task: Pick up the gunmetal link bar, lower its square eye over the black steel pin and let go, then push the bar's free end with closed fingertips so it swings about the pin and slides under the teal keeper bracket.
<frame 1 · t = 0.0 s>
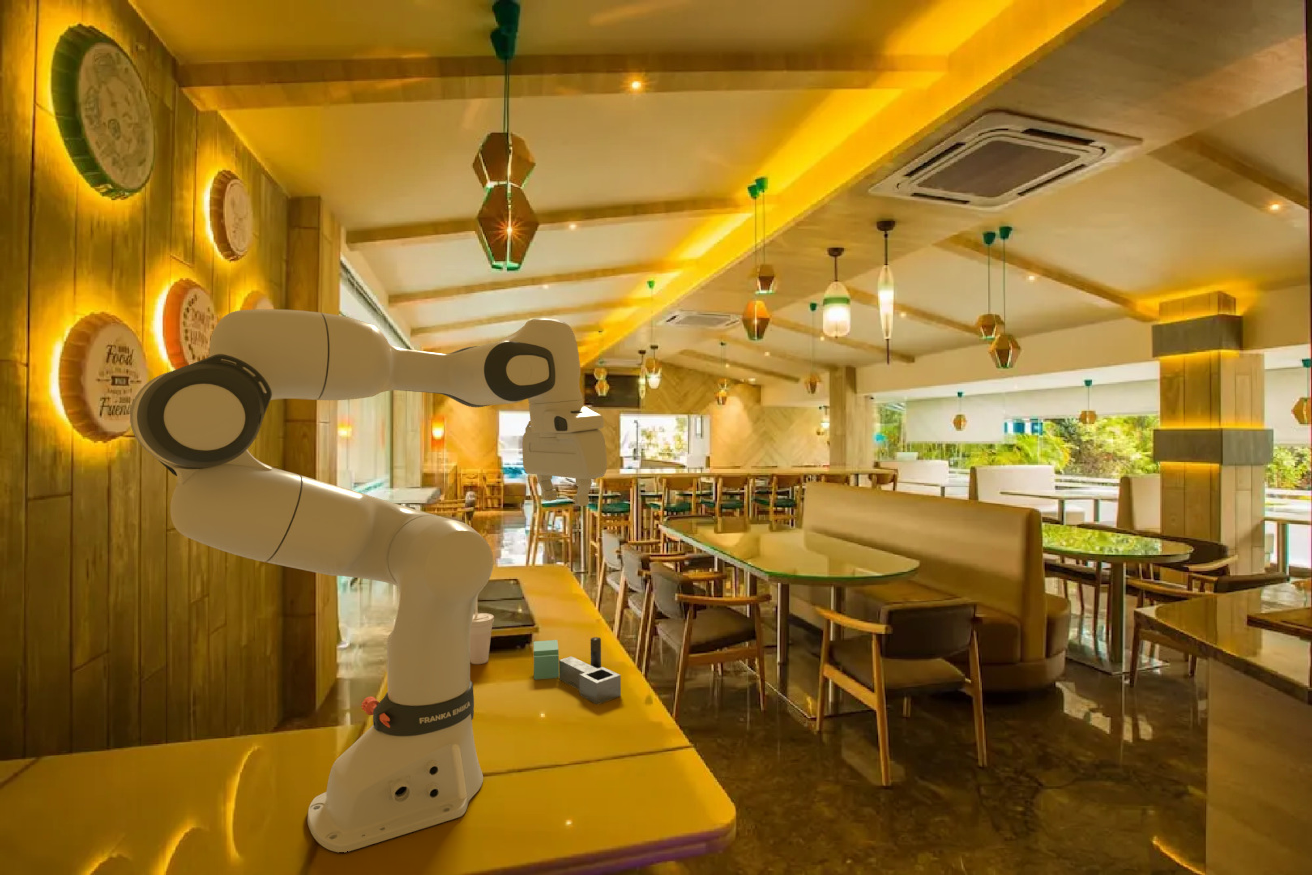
hand: (565, 502, 105), 39 cm above the table, tool pointing down, fingers open, 8 cm apart
link: (565, 677, 129), on the table
smoothie: (479, 661, 139), on the table
keeper: (546, 670, 133), on the table
pintle: (595, 666, 135), on the table
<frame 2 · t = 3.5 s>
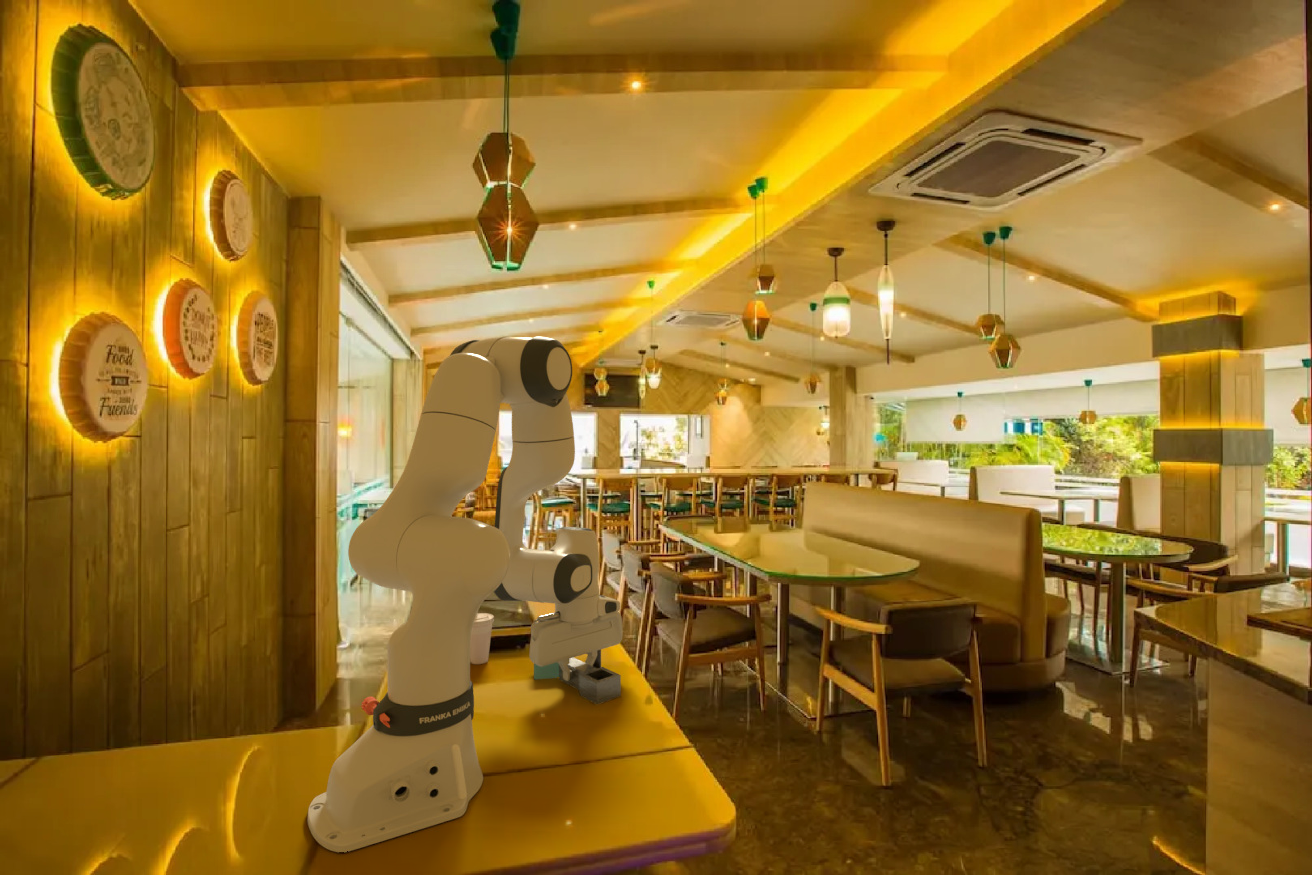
hand: (577, 676, 126), 2 cm above the table, tool pointing down, fingers closed on link, 3 cm apart
link: (565, 677, 129), on the table, touching gripper
everything else where it was.
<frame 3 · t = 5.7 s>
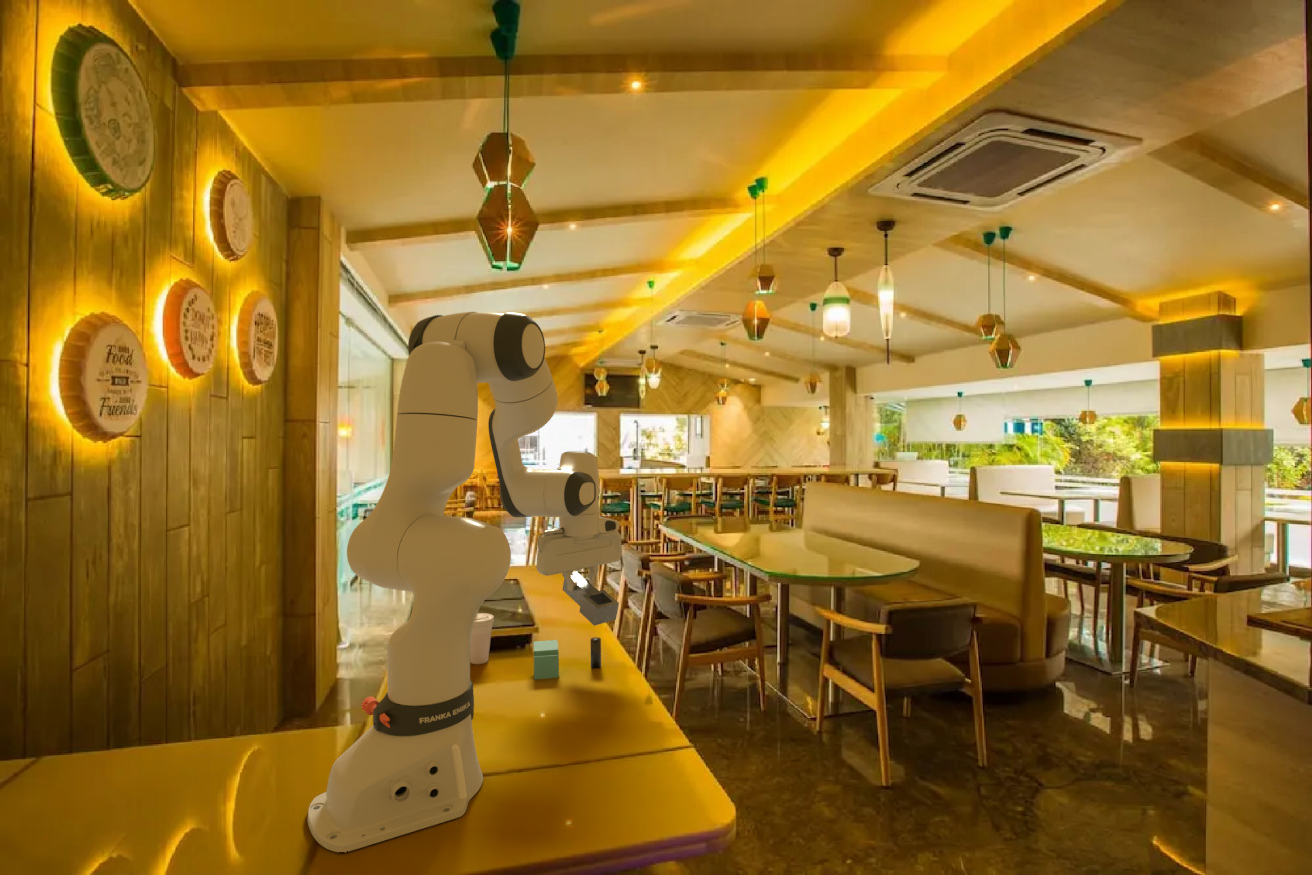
hand: (581, 588, 138), 16 cm above the table, tool pointing down, fingers closed on link, 3 cm apart
link: (568, 588, 142), point 15 cm above the table, tilted 18°, touching gripper
everything else where it was.
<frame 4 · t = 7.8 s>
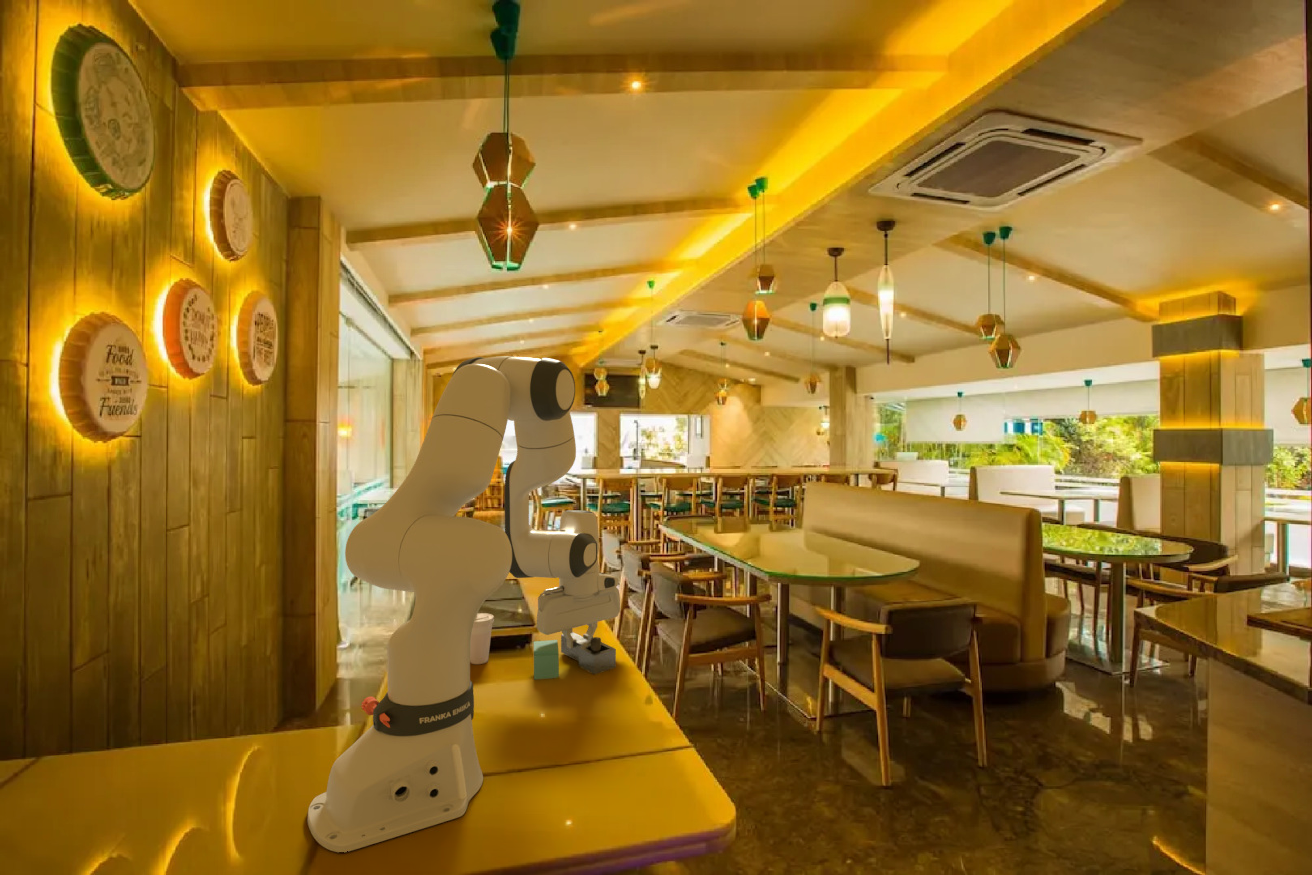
hand: (580, 644, 139), 3 cm above the table, tool pointing down, fingers closed on link, 3 cm apart
link: (566, 650, 144), on the table, touching gripper
everything else where it was.
when the fingers open (3 cm above the table, at t = 8.1 s): link stays where it is, on the table.
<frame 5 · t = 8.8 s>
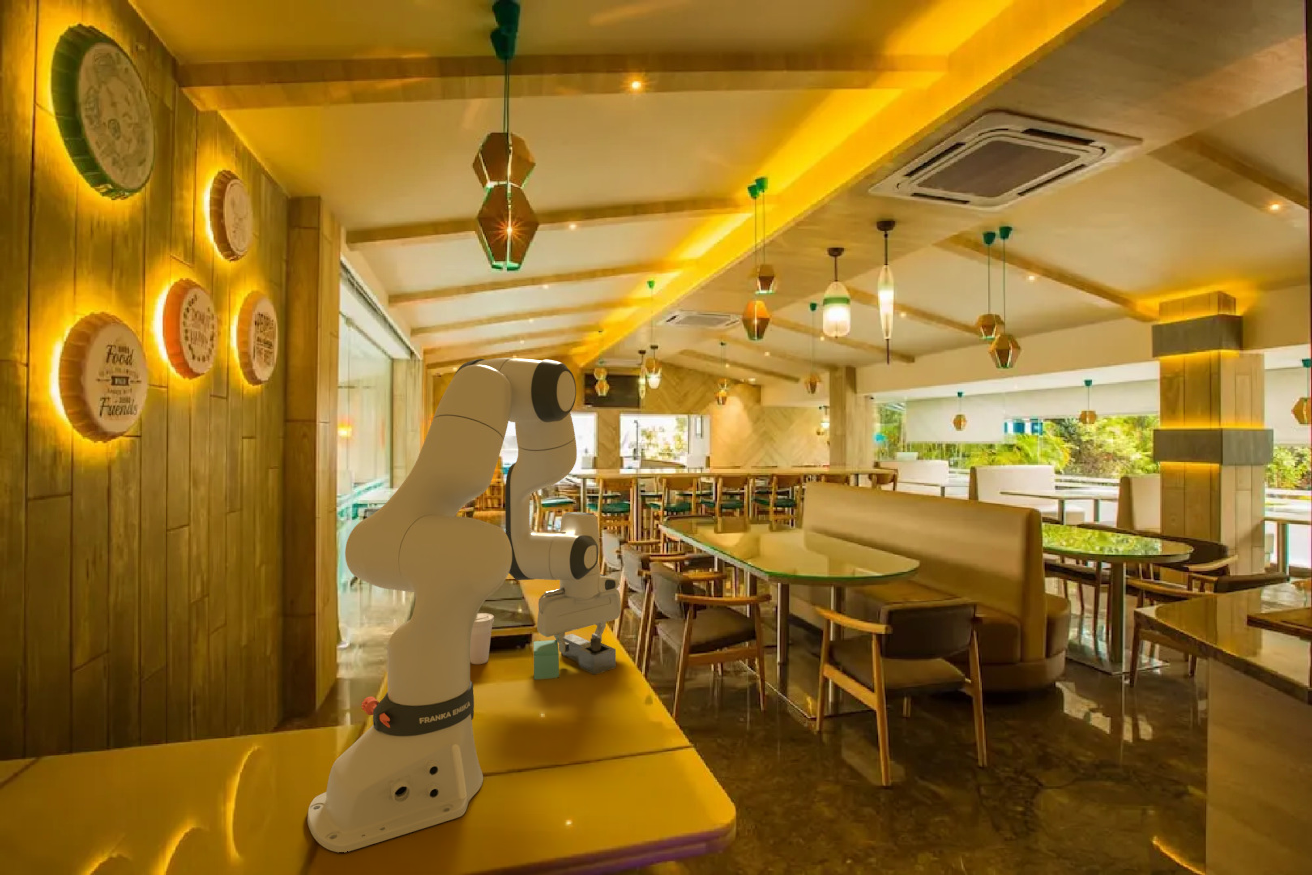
hand: (580, 646, 139), 3 cm above the table, tool pointing down, fingers open, 7 cm apart
link: (566, 652, 143), on the table
everything else where it was.
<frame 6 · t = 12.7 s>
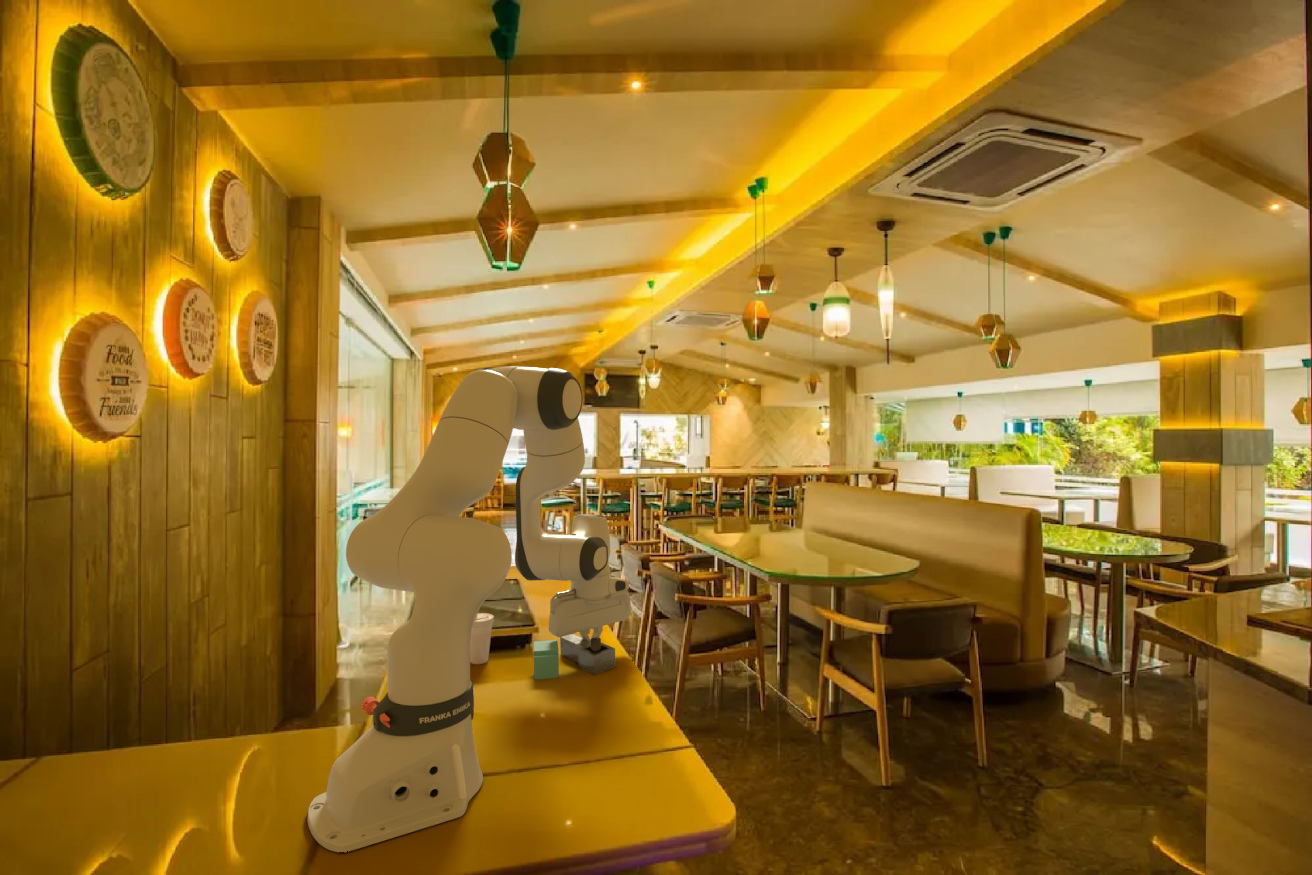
hand: (591, 647, 141), 2 cm above the table, tool pointing down, fingers closed
link: (566, 652, 143), on the table, touching gripper
everything else where it was.
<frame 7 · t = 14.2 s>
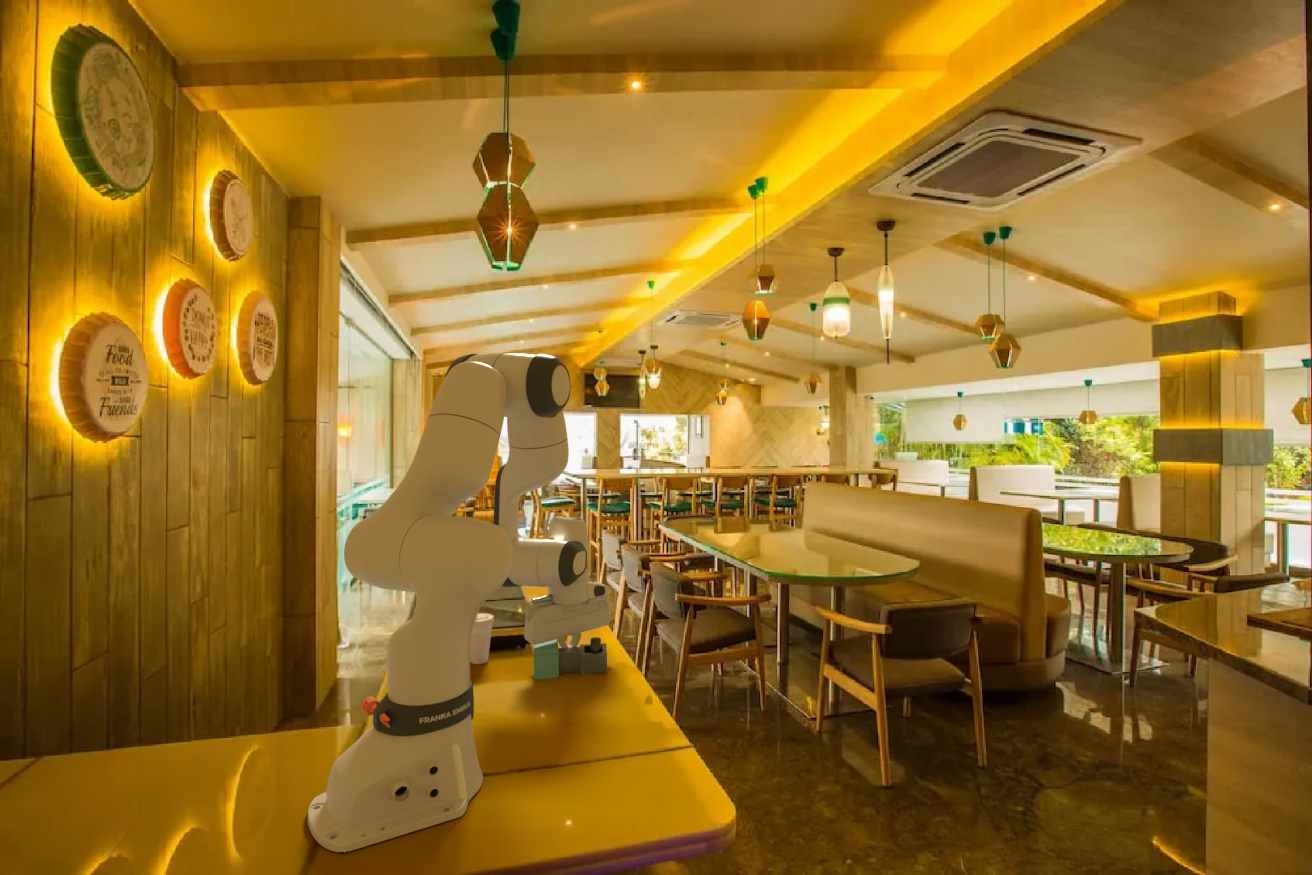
hand: (569, 654, 136), 2 cm above the table, tool pointing down, fingers closed
link: (537, 670, 133), on the table, touching gripper
everything else where it was.
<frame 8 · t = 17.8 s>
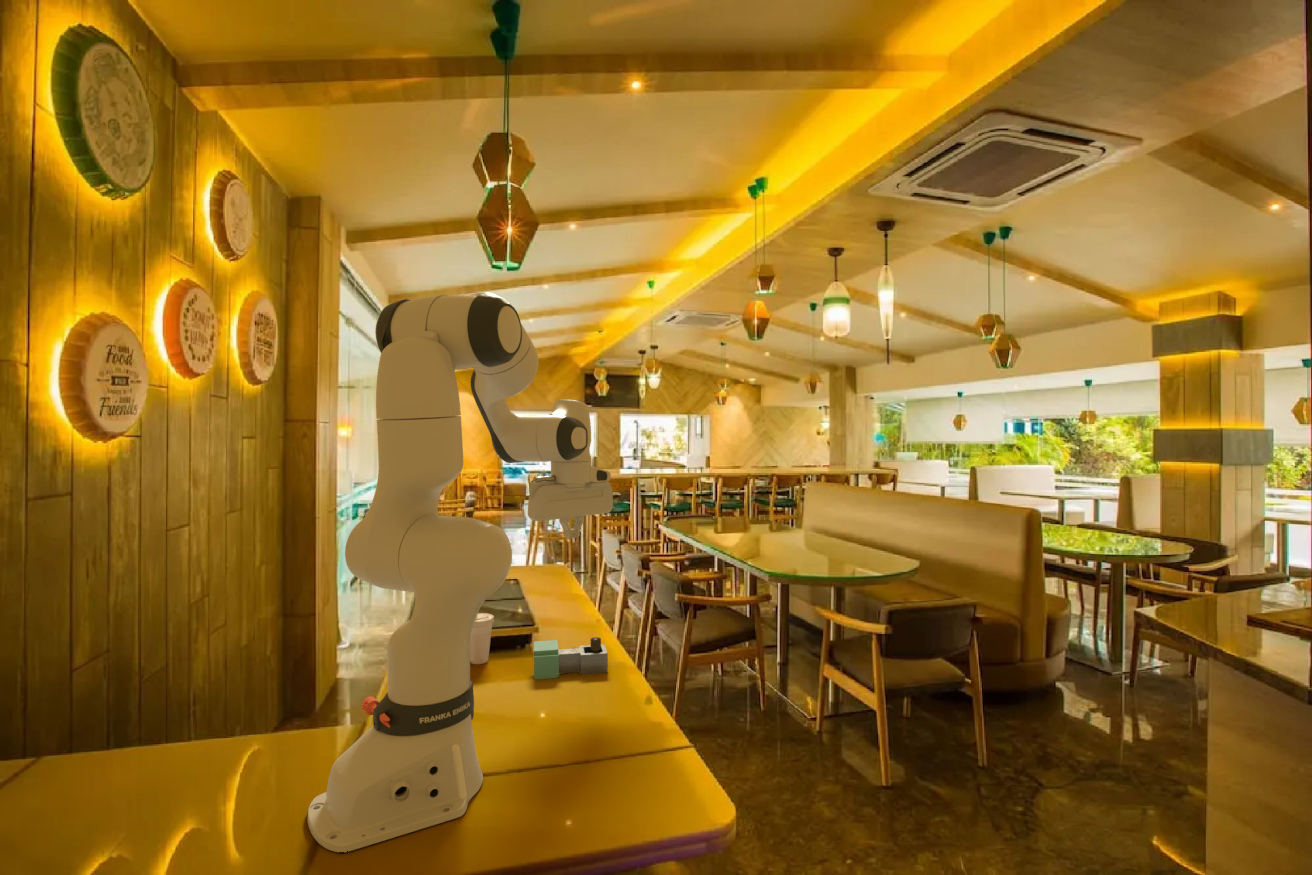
hand: (572, 537, 138), 27 cm above the table, tool pointing down, fingers closed
link: (536, 672, 132), on the table
everything else where it was.
at the end: link 0.8 cm from the target spot on the keeper, point 0.0 cm above the keeper's base; link on the table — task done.
